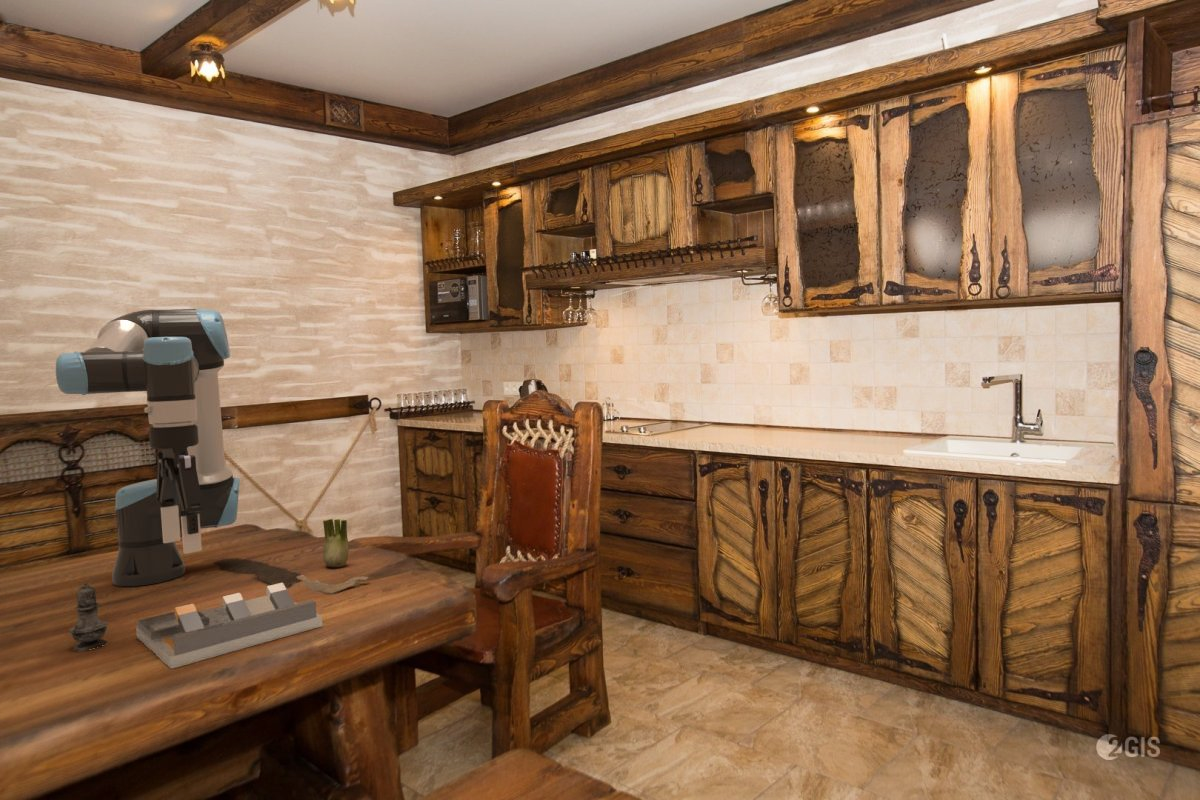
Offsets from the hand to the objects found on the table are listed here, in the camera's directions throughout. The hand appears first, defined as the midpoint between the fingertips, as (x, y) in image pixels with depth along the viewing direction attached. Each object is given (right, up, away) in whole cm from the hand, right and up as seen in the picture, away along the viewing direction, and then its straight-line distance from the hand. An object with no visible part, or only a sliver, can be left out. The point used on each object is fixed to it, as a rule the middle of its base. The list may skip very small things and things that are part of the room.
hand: (182, 546), depth 135 cm
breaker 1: (+8, -13, +5) cm, 16 cm away
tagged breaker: (+2, -14, -1) cm, 14 cm away
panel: (+5, -18, +8) cm, 20 cm away
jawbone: (+13, -16, +39) cm, 44 cm away
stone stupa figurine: (-19, -19, +4) cm, 27 cm away
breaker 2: (+13, -13, +10) cm, 21 cm away
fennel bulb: (+9, -15, +52) cm, 55 cm away
